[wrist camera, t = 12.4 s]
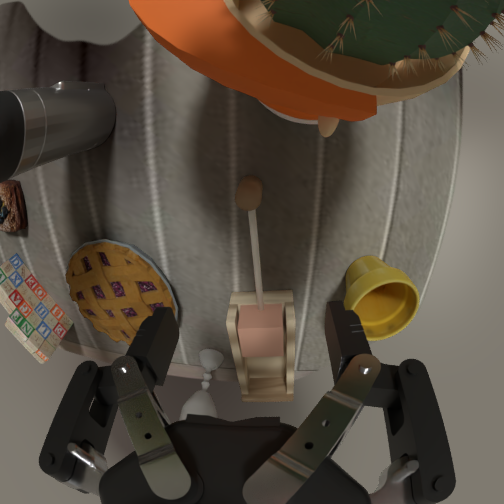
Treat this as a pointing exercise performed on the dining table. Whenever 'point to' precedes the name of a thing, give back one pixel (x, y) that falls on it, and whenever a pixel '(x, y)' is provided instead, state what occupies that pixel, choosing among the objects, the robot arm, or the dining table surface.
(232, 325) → the light wooden box
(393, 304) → the plant pot
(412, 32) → the potted cactus
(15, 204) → the pastry
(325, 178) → the dining table surface
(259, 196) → the pull block
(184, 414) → the chalice
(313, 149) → the dining table surface
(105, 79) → the dining table surface
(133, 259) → the pie
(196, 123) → the dining table surface
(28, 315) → the stack of blocks
